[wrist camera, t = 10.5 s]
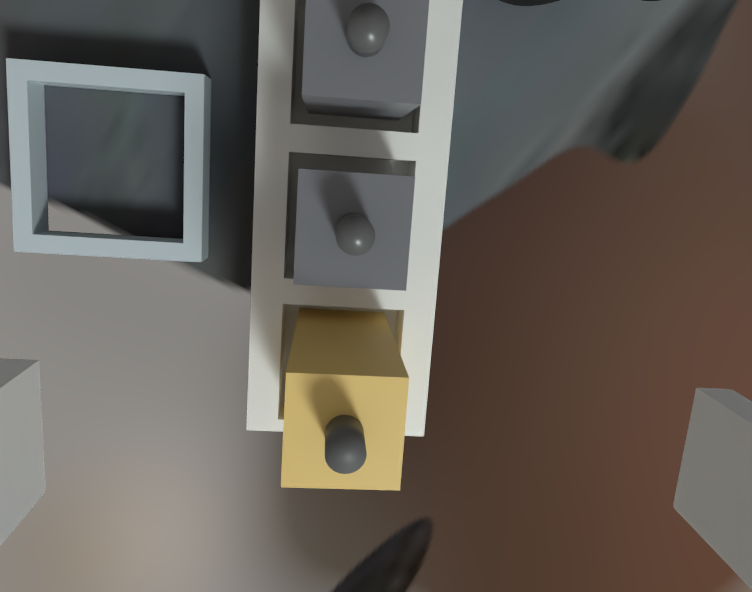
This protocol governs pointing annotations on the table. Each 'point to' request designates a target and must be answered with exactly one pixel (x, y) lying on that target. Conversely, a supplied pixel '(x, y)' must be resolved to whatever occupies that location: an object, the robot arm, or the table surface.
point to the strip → (352, 153)
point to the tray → (32, 167)
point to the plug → (344, 403)
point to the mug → (535, 2)
